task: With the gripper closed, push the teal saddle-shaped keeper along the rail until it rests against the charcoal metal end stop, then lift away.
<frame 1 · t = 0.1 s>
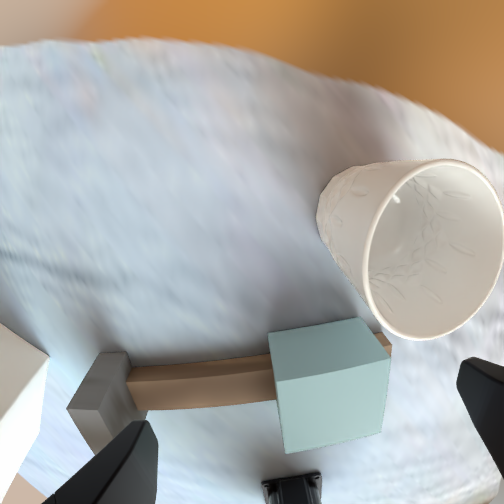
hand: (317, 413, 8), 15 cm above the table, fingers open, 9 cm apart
keeper: (325, 385, 21), point 3 cm above the table, slide at 0.0 cm
rail: (278, 367, 24), on the table
white cup: (361, 214, 21), on the table
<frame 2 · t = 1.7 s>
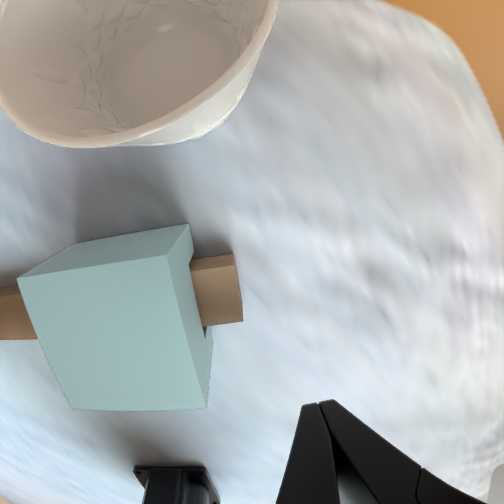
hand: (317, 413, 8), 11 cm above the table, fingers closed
keeper: (126, 317, 15), point 3 cm above the table, slide at 0.0 cm
rail: (97, 298, 18), on the table
white cup: (179, 81, 15), on the table
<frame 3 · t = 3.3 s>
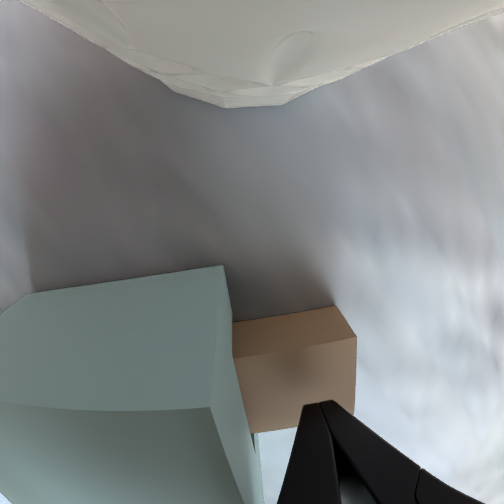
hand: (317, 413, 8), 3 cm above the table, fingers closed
keeper: (120, 434, 7), point 3 cm above the table, slide at 1.2 cm, touching gripper
rail: (100, 372, 10), on the table
white cup: (244, 9, 8), on the table
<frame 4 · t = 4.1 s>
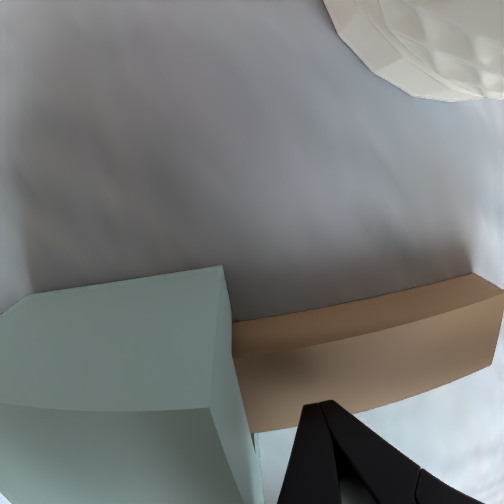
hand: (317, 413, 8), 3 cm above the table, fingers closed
keeper: (120, 434, 7), point 3 cm above the table, slide at 7.0 cm, touching gripper
rail: (256, 359, 10), on the table
white cup: (411, 13, 8), on the table
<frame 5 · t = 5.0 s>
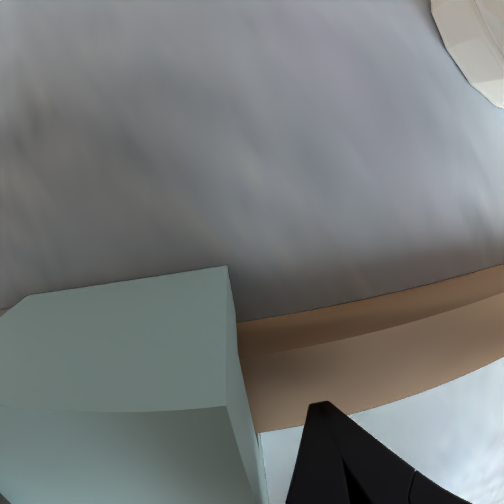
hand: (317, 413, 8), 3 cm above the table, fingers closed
keeper: (125, 435, 7), point 3 cm above the table, slide at 11.0 cm, touching gripper, rail
rail: (373, 335, 11), on the table
white cup: (488, 35, 8), on the table
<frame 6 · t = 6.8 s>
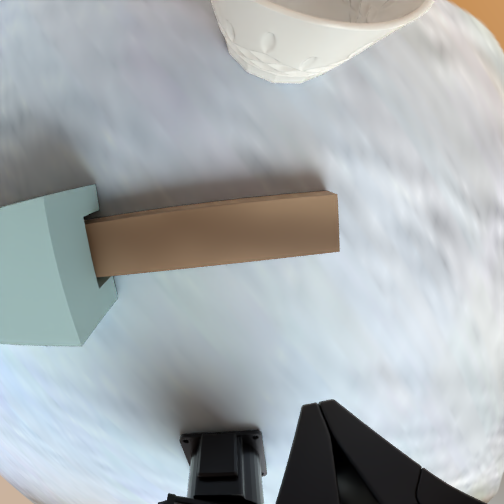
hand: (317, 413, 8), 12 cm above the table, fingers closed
keeper: (35, 263, 15), point 3 cm above the table, slide at 11.0 cm, touching rail
rail: (179, 232, 18), on the table
white cup: (282, 33, 15), on the table
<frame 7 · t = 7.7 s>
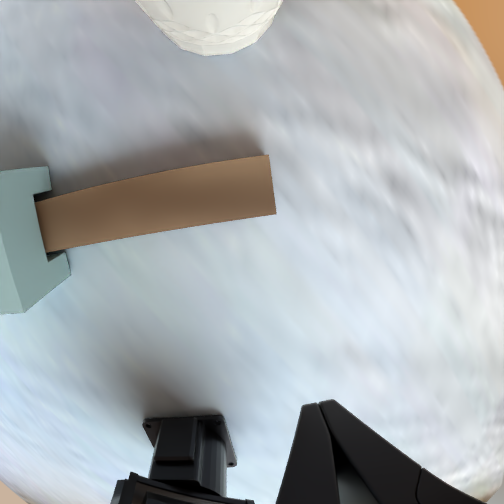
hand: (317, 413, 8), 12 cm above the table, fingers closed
rail: (122, 206, 18), on the table
white cup: (216, 10, 15), on the table
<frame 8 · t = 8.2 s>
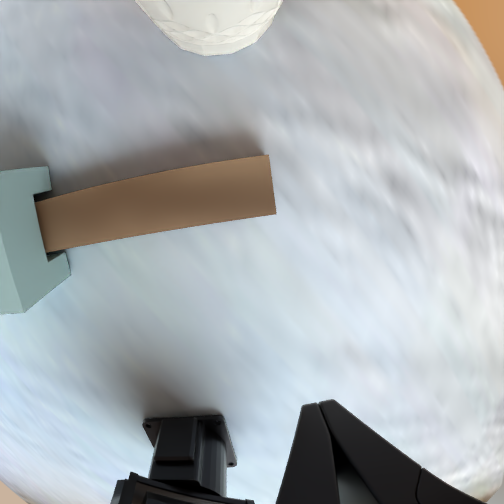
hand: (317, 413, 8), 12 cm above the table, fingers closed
rail: (122, 206, 18), on the table
white cup: (216, 10, 15), on the table
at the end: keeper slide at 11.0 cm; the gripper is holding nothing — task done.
